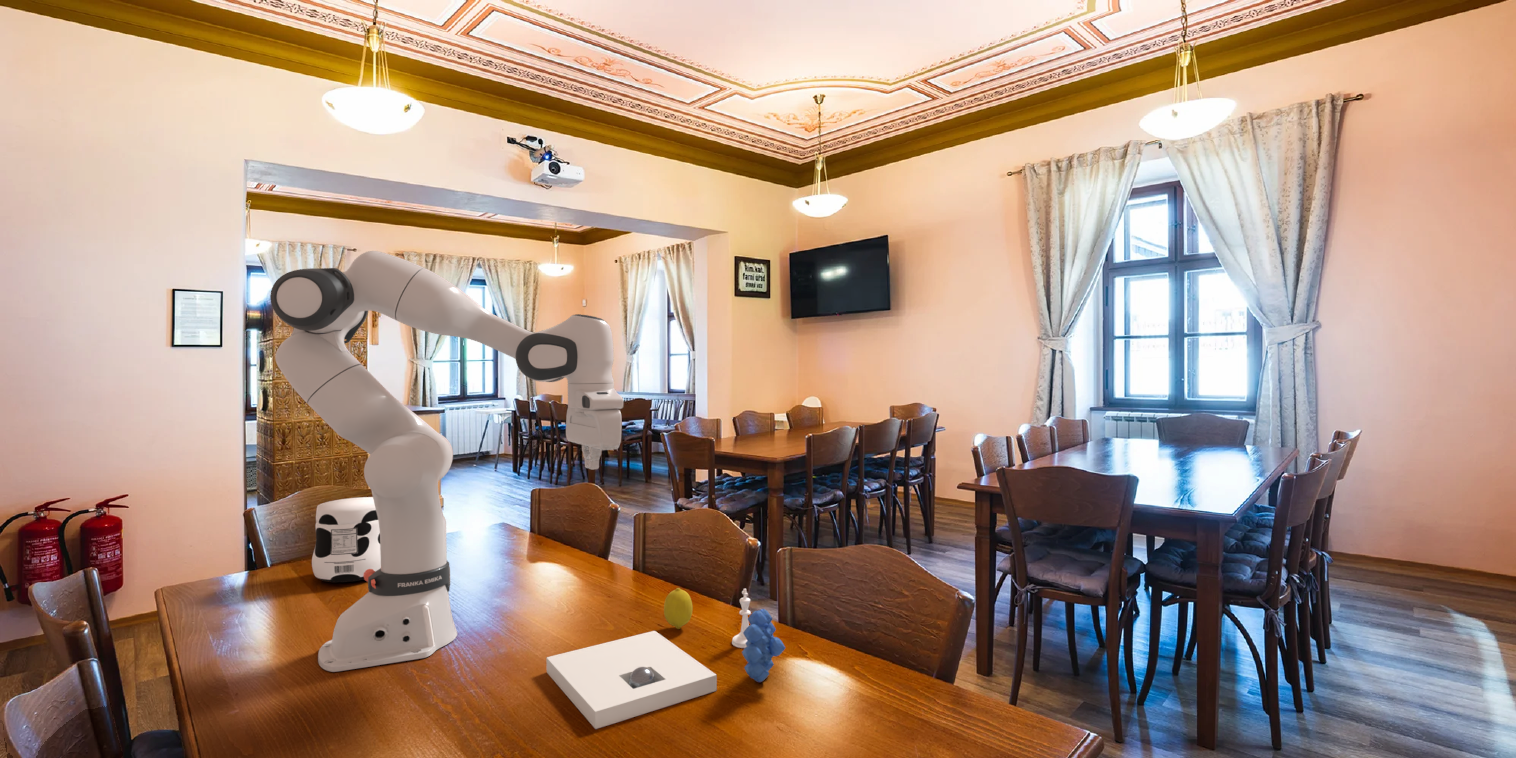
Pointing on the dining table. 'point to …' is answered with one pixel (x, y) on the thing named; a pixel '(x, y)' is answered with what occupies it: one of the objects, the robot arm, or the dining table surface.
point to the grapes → (760, 645)
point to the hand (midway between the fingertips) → (591, 468)
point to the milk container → (346, 540)
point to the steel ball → (641, 677)
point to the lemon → (678, 608)
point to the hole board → (606, 668)
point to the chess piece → (743, 621)
